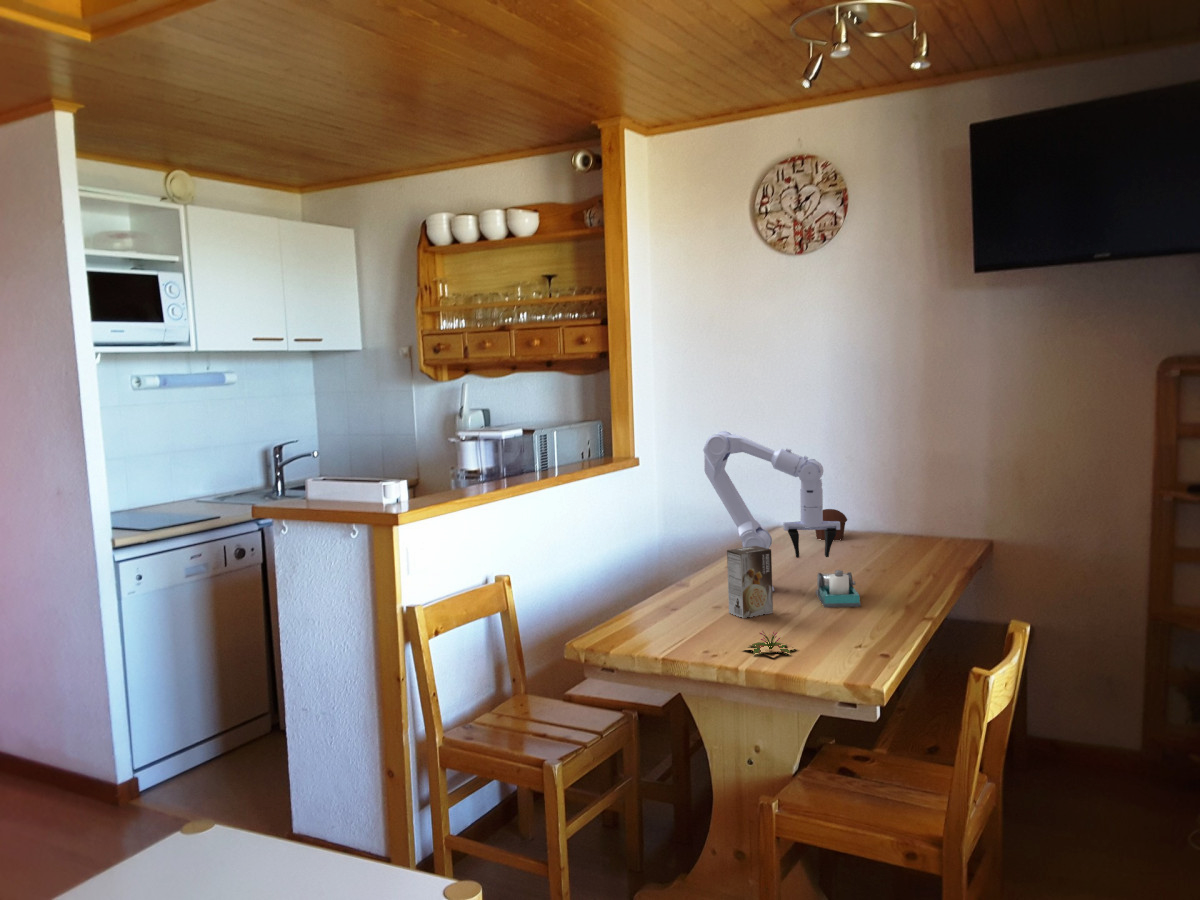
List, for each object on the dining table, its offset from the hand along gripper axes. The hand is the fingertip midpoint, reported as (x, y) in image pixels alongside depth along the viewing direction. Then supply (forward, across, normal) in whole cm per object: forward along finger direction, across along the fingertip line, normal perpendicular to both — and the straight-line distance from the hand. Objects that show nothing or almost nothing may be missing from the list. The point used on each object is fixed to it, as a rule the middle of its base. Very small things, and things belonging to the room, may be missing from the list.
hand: (812, 556), depth 255 cm
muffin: (+10, -16, -72) cm, 74 cm away
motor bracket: (+9, -5, +9) cm, 14 cm away
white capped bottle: (+8, -5, +12) cm, 16 cm away
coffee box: (+10, +18, +21) cm, 29 cm away
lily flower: (+10, +16, +51) cm, 54 cm away
